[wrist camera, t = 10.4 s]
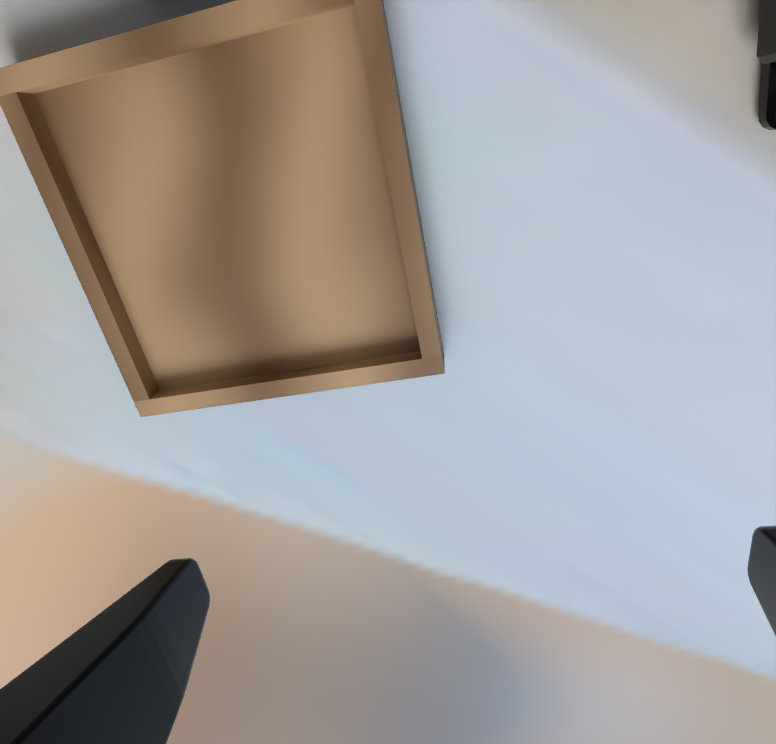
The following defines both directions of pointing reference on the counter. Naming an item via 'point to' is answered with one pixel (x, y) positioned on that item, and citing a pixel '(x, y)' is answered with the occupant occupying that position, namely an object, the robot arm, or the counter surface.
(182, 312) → the tray
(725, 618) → the counter surface
